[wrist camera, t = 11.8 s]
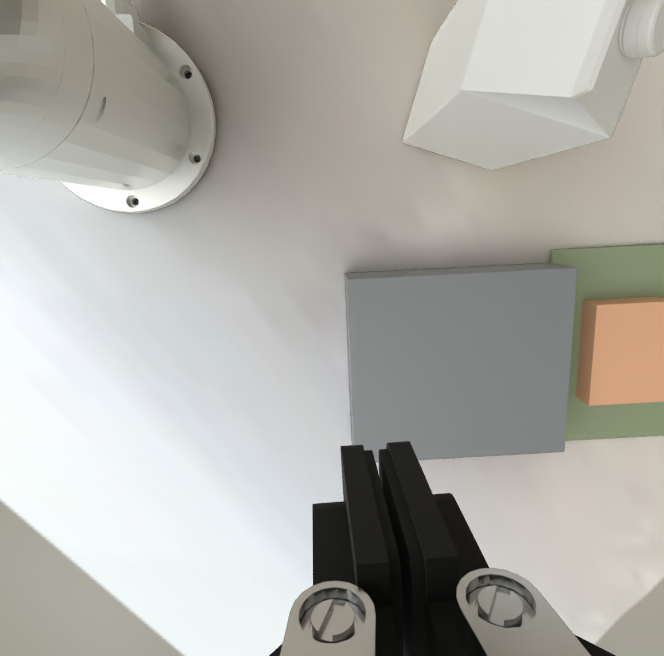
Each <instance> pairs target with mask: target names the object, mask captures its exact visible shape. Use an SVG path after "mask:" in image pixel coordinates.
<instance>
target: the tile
mask: <svg viewBox="0 0 664 656" xmlns="http://www.w3.org/2000/svg"><path fill="white" fill-rule="evenodd" d="M576 397H577V398H579V399H580V400H581V401H583V402H584V403H586V404H587V405H589V406H593V405H611V404H629V403H648V402H664V298H662V297H641V298H622V299H602V300H583V302H582V316H581V329H580V343H579V356H578V370H577V383H576Z"/></svg>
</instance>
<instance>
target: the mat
mask: <svg viewBox="0 0 664 656" xmlns="http://www.w3.org/2000/svg"><path fill="white" fill-rule="evenodd" d="M550 263H554V264H559V265H564V266H569V267H575V268H577V278H576V292H575V307H574V321H573V335H572V349H571V364H570V378H569V392H568V406H567V421H566V435H565V441H572V440H590V439H608V438H626V437H644V436H662V435H664V402H648V403H629V404H611V405H593V406H589V405H587V404H586V403H584V402H583V401H581V400H580V399H579V398H577V397H576V383H577V370H578V356H579V343H580V329H581V316H582V302H583V300H602V299H622V298H641V297H662V298H664V244H655V245H635V246H615V247H595V248H575V249H555V250H551V255H550Z"/></svg>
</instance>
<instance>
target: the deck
mask: <svg viewBox="0 0 664 656" xmlns="http://www.w3.org/2000/svg"><path fill="white" fill-rule="evenodd" d="M576 278H577V268H575V267H569V266H564V265H559V264H554V263H534V264H514V265H494V266H474V267H454V268H434V269H414V270H394V271H374V272H354V273H345V295H346V319H347V343H348V368H349V392H350V416H351V440H352V445H363V447H364V450H372V451H373V455H374V459H375V462H379V449H386V444H387V443H390V442H403V441H410V443H411V445H412V447H413V450H414V452H415V454H416V457H417V459H418V460H428V459H446V458H464V457H482V456H500V455H517V454H535V453H553V452H564V449H565V435H566V421H567V406H568V392H569V378H570V364H571V349H572V335H573V321H574V307H575V292H576Z"/></svg>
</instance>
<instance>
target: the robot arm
mask: <svg viewBox="0 0 664 656" xmlns="http://www.w3.org/2000/svg"><path fill="white" fill-rule="evenodd" d="M188 72H191V73H192V76H191V77H190V78H189V79H187V78H186V74H187V73H188ZM215 137H216V117H215V111H214V106H213V101H212V97H211V95H210V92H209V89H208V87H207V84H206V81H205V80H204V78H203V76H202V75H201V73H200V71H199V69H198V68H197V66H196V65H195V63H194V62H193V61H192V60H191V58H190V57H189V56H188V54H187V53H186V52H185V51H184V50H183V49H182V48H181V47H180V46H179V45H178V44H177V43H176V42H175V41H174V40H172V39H171V38H169V37H168V36H166V35H165V34H164V33H162V32H161V31H159V30H158V29H156V28H153V27H151V26H149V25H147V24H144V23H142V22H140V21H138V15H137V10H136V7H134V6H133V5H131V4H130V3H129V0H0V174H5V175H12V176H19V177H27V178H34V179H42V180H49V181H56V182H61V183H62V184H63V185H64V186H65V187H66V188H67V189H68V190H70V191H71V192H72V193H74V194H75V195H76V196H78V197H79V198H81V199H82V200H84V201H86V202H88V203H90V204H92V205H94V206H96V207H100V208H103V209H107V210H110V211H113V212H123V213H145V212H150V211H155V210H159V209H161V208H164V207H166V206H169V205H171V204H173V203H175V202H176V201H178V200H179V199H181V198H182V197H183V196H185V195H186V194H187V193H188V192H189V191H190V190H191V189H192V188H193V187H194V186H195V185H196V184H197V183H198V182H199V180H200V178H201V177H202V175H203V174H204V172H205V170H206V169H207V166H208V164H209V161H210V158H211V156H212V153H213V148H214V142H215ZM196 156H200V158H201V161H200V162H198V163H196V162H195V157H196ZM136 198H137V199H138V200H139V204H138V205H135V204H134V200H135V199H136ZM341 462H342V479H343V495H344V502H331V503H318V504H313V586H311V587H310V588H308V589H307V590H305V591H304V592H302V593H301V594H300V596H299V597H298V598H297V599H296V600H295V601H294V604H293V606H292V608H291V611H290V614H289V618H288V623H287V627H286V631H285V636H284V640H283V644H281V645H280V646H279V647H278V648H277V649H276V650H275V651H274V652H273V653H272V654H271V655H269V656H615V655H613V654H611V653H609V652H607V651H605V650H603V649H602V648H599V647H598V646H596V645H594V644H592V643H590V642H588V641H586V640H584V639H582V638H580V637H578V636H576V635H574V634H573V633H572V631H571V630H570V629H569V628H568V626H567V625H566V624H565V623H564V621H563V620H562V619H561V618H560V616H559V615H558V614H557V613H556V611H555V610H554V609H553V608H552V607H551V605H550V604H549V603H548V602H547V600H546V599H545V598H544V597H543V595H542V594H541V593H540V592H539V590H538V589H537V588H536V587H534V586H533V585H532V584H531V583H530V582H529V581H528V580H526V579H524V578H523V577H521V576H519V575H518V574H515V573H512V572H510V571H507V570H503V569H496V568H489V566H488V564H487V562H486V560H485V558H484V556H483V554H482V552H481V550H480V548H479V546H478V544H477V542H476V540H475V538H474V536H473V534H472V532H471V530H470V528H469V526H468V524H467V522H466V520H465V518H464V516H463V514H462V512H461V510H460V508H459V506H458V504H457V502H456V500H455V498H454V497H453V495H452V494H450V493H445V494H432V492H431V489H430V487H429V485H428V482H427V480H426V478H425V475H424V473H423V471H422V468H421V466H420V464H419V461H418V459H417V457H416V454H415V452H414V450H413V447H412V445H411V443H410V441H403V442H390V443H387V444H386V449H379V474H378V470H377V466H376V462H375V459H374V455H373V451H372V450H364V447H363V445H350V446H341Z"/></svg>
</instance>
